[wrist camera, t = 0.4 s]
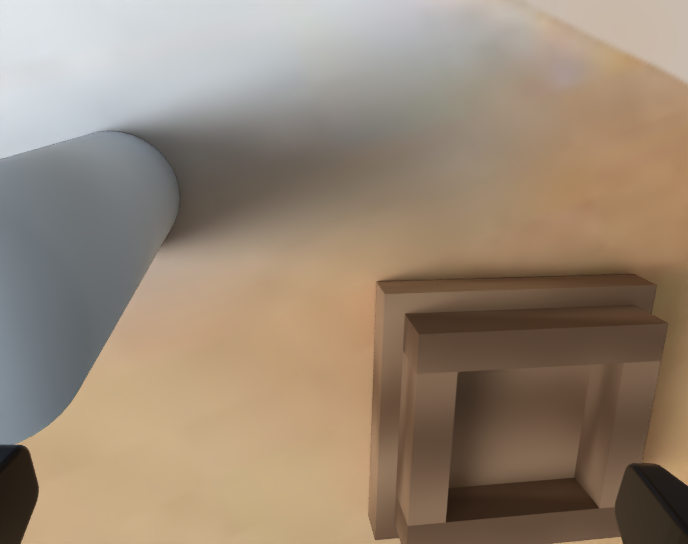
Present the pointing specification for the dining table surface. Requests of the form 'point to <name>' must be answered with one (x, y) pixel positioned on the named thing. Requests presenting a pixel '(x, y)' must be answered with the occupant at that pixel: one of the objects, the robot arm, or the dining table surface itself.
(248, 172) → the dining table surface
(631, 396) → the socket base
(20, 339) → the blue-gray capsule
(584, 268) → the dining table surface
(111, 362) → the dining table surface
